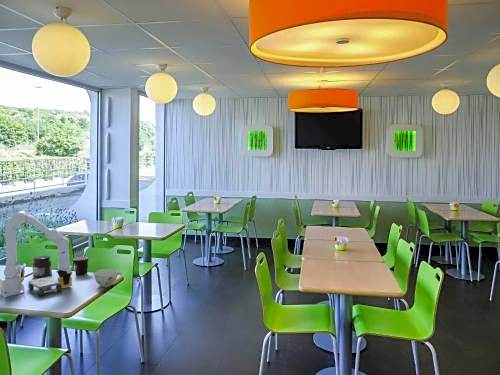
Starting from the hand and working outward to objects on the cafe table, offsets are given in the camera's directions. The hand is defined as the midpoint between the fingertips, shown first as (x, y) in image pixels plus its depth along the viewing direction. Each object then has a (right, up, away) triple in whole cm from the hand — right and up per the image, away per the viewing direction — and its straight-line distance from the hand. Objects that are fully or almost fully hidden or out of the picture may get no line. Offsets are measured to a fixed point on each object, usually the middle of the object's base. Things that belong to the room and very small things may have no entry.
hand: (64, 283), depth 237 cm
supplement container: (-24, -1, +23) cm, 33 cm away
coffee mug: (-1, -1, +26) cm, 26 cm away
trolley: (-9, -3, -5) cm, 10 cm away
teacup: (+23, -2, +4) cm, 23 cm away
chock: (0, -1, 0) cm, 2 cm away
